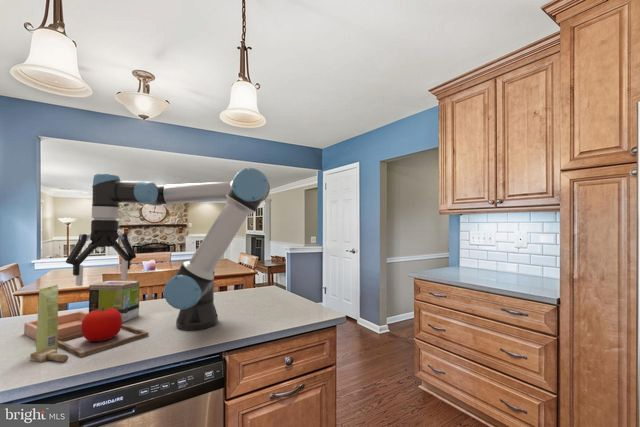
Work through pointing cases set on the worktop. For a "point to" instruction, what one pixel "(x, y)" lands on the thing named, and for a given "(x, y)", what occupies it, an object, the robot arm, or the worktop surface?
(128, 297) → the tea box
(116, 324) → the tomato
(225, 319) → the worktop surface
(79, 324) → the brown wooden flat box
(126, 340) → the rim
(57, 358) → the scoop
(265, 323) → the worktop surface
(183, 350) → the worktop surface
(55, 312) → the tube
